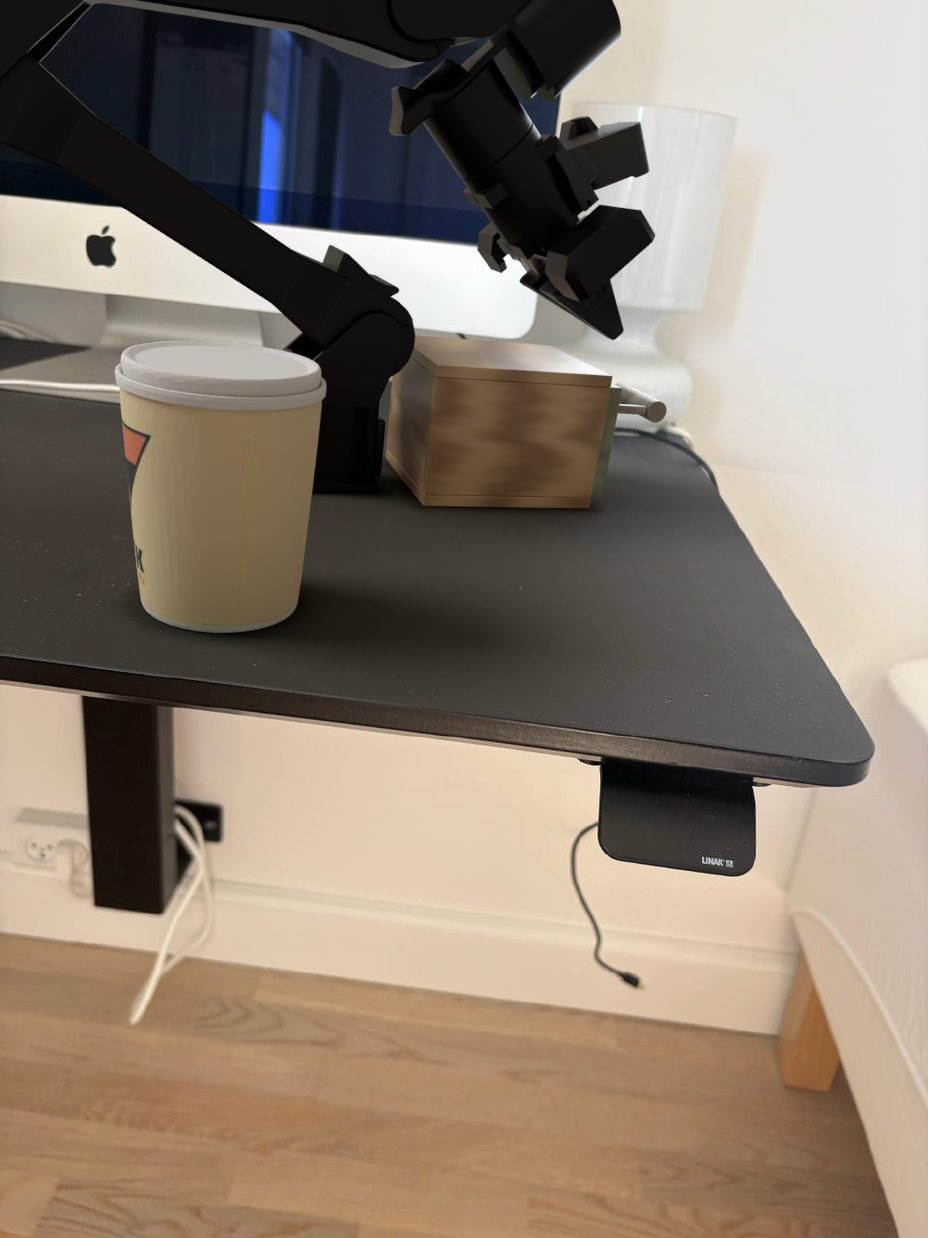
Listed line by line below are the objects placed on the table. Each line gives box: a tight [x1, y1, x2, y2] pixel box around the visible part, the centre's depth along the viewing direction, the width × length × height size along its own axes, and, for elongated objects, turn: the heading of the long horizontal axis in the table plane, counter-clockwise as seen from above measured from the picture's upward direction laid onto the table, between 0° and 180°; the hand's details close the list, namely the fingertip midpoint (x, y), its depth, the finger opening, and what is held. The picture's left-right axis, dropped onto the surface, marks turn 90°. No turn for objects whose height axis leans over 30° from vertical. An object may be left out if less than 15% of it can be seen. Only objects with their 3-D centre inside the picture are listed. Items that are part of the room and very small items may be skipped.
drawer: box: [592, 382, 668, 495], centre depth 73 cm, size 16×10×8 cm, turn 107°
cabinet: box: [385, 335, 613, 509], centre depth 71 cm, size 13×12×10 cm
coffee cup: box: [114, 340, 326, 634], centre depth 46 cm, size 9×9×12 cm
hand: (616, 335), depth 71 cm, fingers closed
